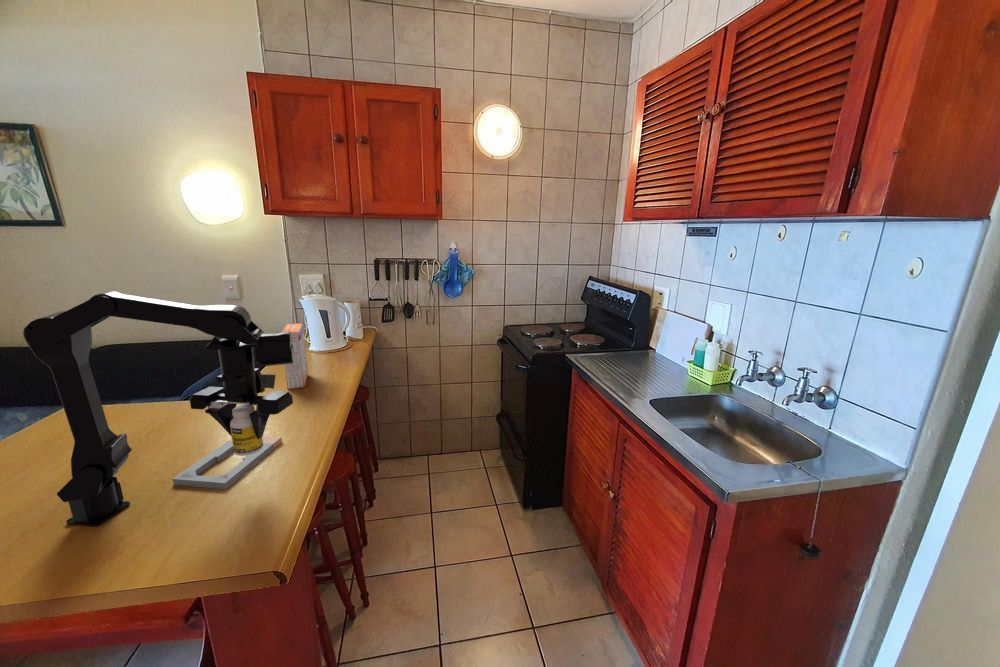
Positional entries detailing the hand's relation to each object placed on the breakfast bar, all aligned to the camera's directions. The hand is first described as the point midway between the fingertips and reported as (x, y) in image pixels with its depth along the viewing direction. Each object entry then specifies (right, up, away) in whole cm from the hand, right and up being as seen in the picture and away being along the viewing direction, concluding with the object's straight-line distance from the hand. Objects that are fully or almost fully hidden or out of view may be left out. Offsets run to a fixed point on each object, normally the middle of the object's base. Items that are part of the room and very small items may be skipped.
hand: (247, 437), depth 84 cm
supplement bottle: (0, -3, +1) cm, 3 cm away
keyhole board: (-11, -9, +11) cm, 18 cm away
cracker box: (-21, +4, +62) cm, 65 cm away
